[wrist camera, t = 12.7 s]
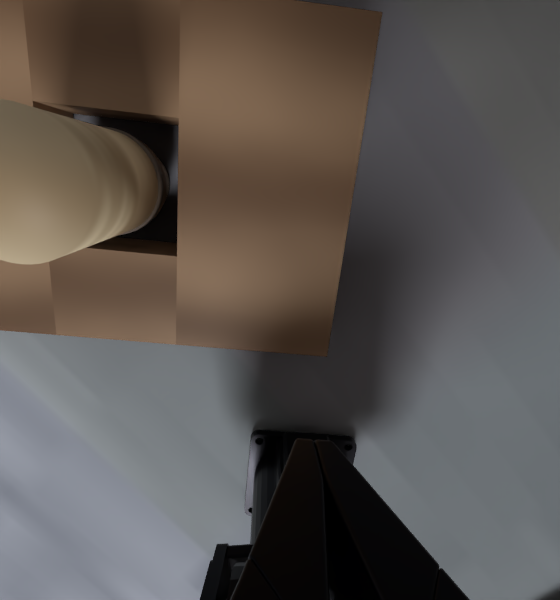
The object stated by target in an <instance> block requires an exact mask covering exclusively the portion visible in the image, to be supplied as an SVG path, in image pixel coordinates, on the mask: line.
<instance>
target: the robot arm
mask: <svg viewBox="0 0 560 600" xmlns="http://www.w3.org/2000/svg"><path fill="white" fill-rule="evenodd" d="M257 438H262V440H257ZM346 444H351V445H349V446H345V445H346ZM355 452H356V443H355V440H354V438H352V437H350V436H338V435H324V434H309V433H295V432H280V431H266V430H257V431H255V432H253V433H252V436H251V445H250V456H249V466H248V477H247V487H246V498H245V513H246V514H247V515H249V516H252V522H251V541H250V544H246V545H232V546H229V545H228V544H217V546H216V550H215V553H214V557H213V560H211V561H210V564H209V568H208V571H207V575H206V579H205V582H204V586H203V590H202V594H201V597H200V600H470V599H469V598H468V597H467V596H466V595H465V594H464V593H463V592H462V591H461V589H460V588H459V587H458V586H457V585H456V584H455V583H454V581H453V580H452V579H451V578H450V577H449V576H448V574H447V573H446V572H445V571H444V570H443V569H442V568H440V569H439V564H438V563H437V562H436V561H435V560H434V558H433V557H432V556H431V555H430V554H429V553H428V551H427V550H426V549H425V548H424V547H423V546H422V545H421V543H420V542H419V541H418V540H417V539H416V538H415V536H414V535H413V534H412V533H411V532H410V531H409V529H408V528H407V527H406V526H405V525H404V524H403V523H402V521H401V520H400V519H399V518H398V517H397V516H396V514H395V513H394V512H393V511H392V510H391V509H390V507H389V506H388V505H387V504H386V503H385V502H384V500H383V499H382V498H381V497H380V496H379V495H378V494H377V492H376V491H375V490H374V489H373V488H372V487H371V485H370V484H369V483H368V482H367V481H366V480H365V478H364V477H363V476H362V475H361V474H360V473H359V472H358V470H357V469H356V468H355V467H354V466H353V462H354V457H355ZM250 507H252V508H250Z"/></svg>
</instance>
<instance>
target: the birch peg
mask: <svg viewBox="0 0 560 600" xmlns="http://www.w3.org/2000/svg"><path fill="white" fill-rule="evenodd" d="M169 186H170V185H169V177H168V174H167V171H166V169H165V167H164V165H163V163H162V162H161V161H160V160H159V159H158V157H157V156H156V155H155V154H154V152H153V151H152V150H151V149H150V148H149V147H148V146H147V145H146V144H144V143H143V142H142V141H140V140H138V139H137V138H135V137H134V136H132V135H131V134H128V133H126V132H124V131H121V130H118V129H115V128H110V127H103V126H97V125H93V124H90V123H86V122H83V121H79V120H76V119H73V118H69V117H66V116H62V115H59V114H55V113H52V112H49V111H45V110H42V109H38V108H35V107H31V106H28V105H25V104H21V103H18V102H14V101H10V100H5V99H0V260H3V261H7V262H10V263H16V264H29V265H32V264H41V263H45V262H49V261H52V260H55V259H57V258H60V257H63V256H65V255H68V254H70V253H73V252H76V251H78V250H81V249H83V248H86V247H89V246H91V245H94V244H97V243H99V242H102V241H104V240H107V239H110V238H112V237H115V236H117V235H123V234H127V233H131V232H133V231H136V230H138V229H140V228H142V227H144V226H145V225H147V224H148V223H149V222H150V221H151V220H153V219H154V218H155V217H156V216H157V215H158V213H159V212H160V210H161V208H162V206H163V204H164V203H165V201H166V199H167V197H168V193H169Z"/></svg>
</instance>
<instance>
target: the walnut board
mask: <svg viewBox="0 0 560 600" xmlns="http://www.w3.org/2000/svg"><path fill="white" fill-rule="evenodd" d="M381 17H382V12H378V11H370V10H363V9H356V8H348V7H341V6H334V5H326V4H319V3H312V2H304V1H297V0H0V99H5V100H10V101H14V102H18V103H21V104H25V105H28V106H31V107H35V108H38V109H42V110H45V111H49V112H52V113H55V114H59V115H62V116H66V117H69V118H73V114H81V115H90V116H99V117H107V118H116V119H125V120H134V121H142V122H151V123H160V124H168V125H177V126H179V141H178V219H177V243H173V242H162V241H152V240H142V239H131V238H121V237H112V238H110V239H107V240H104V241H102V242H99V243H97V244H94V245H91V246H89V247H86V248H83V249H81V250H78V251H76V252H73V253H70V254H68V255H65V256H63V257H60V258H57V259H55V260H52V261H49V262H45V263H41V264H32V265H29V264H16V263H10V262H7V261H3V260H0V330H4V331H16V332H28V333H41V334H53V335H65V336H78V337H90V338H102V339H115V340H127V341H139V342H152V343H164V344H176V345H189V346H201V347H213V348H226V349H238V350H250V351H263V352H275V353H287V354H300V355H312V356H324V357H327V353H328V347H329V341H330V335H331V329H332V322H333V316H334V310H335V304H336V297H337V291H338V285H339V279H340V272H341V266H342V260H343V254H344V248H345V241H346V235H347V229H348V223H349V216H350V210H351V204H352V198H353V191H354V185H355V179H356V173H357V167H358V160H359V154H360V148H361V142H362V135H363V129H364V123H365V117H366V111H367V104H368V98H369V92H370V86H371V79H372V73H373V67H374V61H375V54H376V48H377V42H378V36H379V30H380V23H381Z"/></svg>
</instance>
